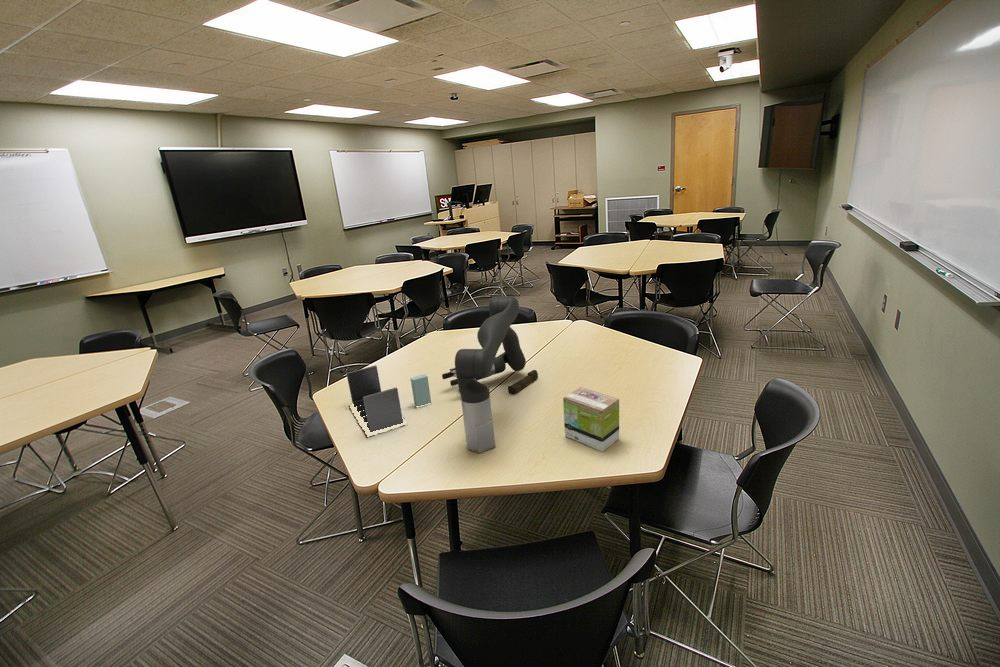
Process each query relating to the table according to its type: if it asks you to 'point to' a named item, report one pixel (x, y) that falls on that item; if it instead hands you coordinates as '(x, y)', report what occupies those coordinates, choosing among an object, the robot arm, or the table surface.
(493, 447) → the robot arm
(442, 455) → the table surface
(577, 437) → the tea box
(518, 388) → the hand tool
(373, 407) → the rack
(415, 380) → the tall pale blue pillar
